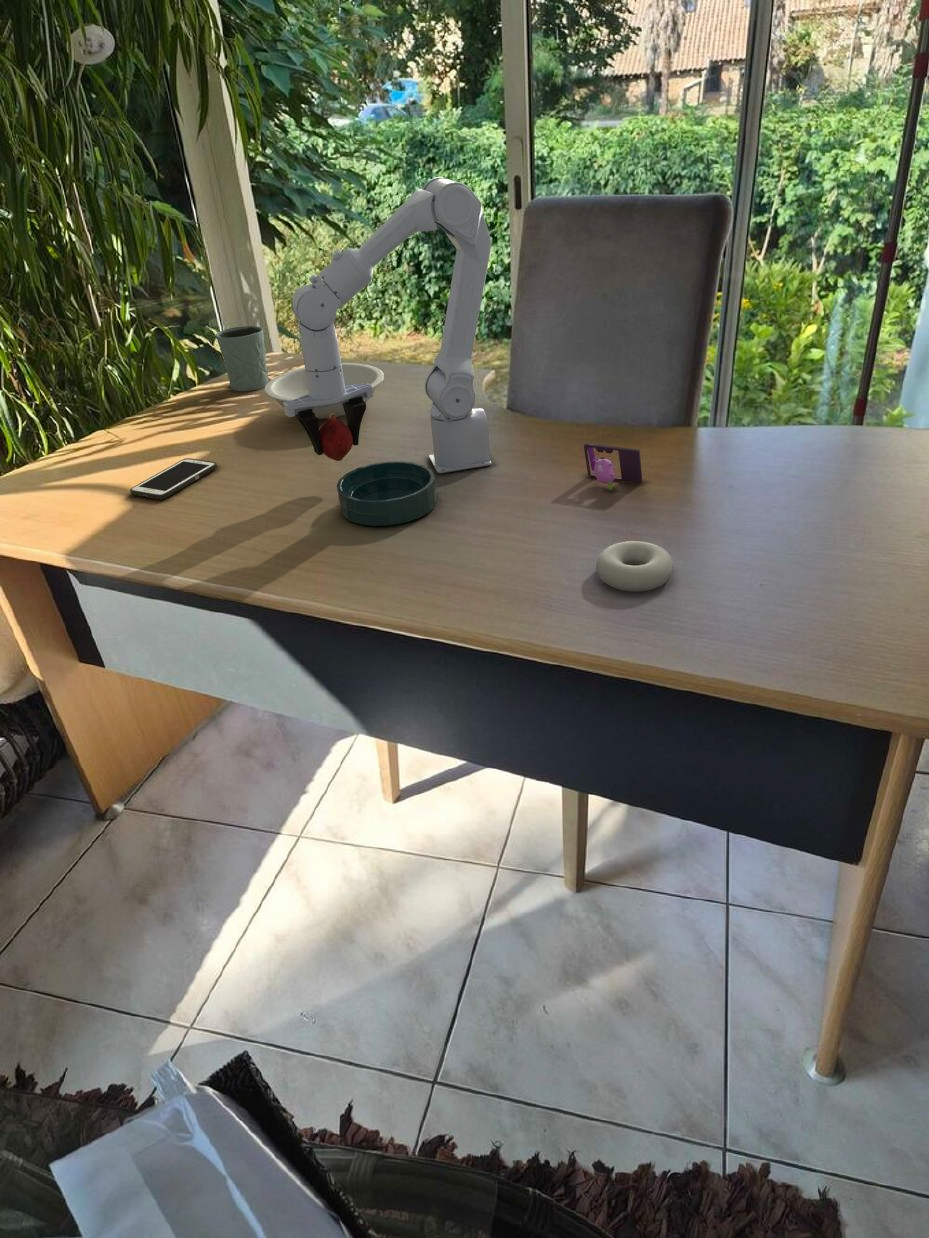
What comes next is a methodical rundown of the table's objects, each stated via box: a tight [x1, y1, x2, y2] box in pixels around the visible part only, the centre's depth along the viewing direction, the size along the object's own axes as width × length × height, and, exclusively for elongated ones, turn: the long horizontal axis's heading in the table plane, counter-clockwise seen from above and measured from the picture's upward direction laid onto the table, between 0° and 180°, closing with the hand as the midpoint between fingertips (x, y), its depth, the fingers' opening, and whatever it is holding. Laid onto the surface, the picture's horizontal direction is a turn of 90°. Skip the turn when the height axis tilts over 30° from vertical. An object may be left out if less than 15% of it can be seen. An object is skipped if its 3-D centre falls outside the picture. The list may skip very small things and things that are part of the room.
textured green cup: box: [215, 325, 270, 392], centre depth 194 cm, size 10×10×12 cm
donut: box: [595, 540, 674, 593], centre depth 114 cm, size 10×4×10 cm
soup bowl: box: [263, 362, 385, 420], centre depth 176 cm, size 24×24×7 cm
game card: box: [583, 442, 643, 491], centre depth 137 cm, size 7×5×9 cm
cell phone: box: [129, 457, 218, 500], centre depth 153 cm, size 8×15×1 cm, turn 153°
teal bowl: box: [336, 460, 438, 527], centre depth 137 cm, size 15×15×4 cm
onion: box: [319, 414, 354, 462], centre depth 143 cm, size 6×6×8 cm
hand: (337, 448), depth 144 cm, fingers closed on onion, 6 cm apart
